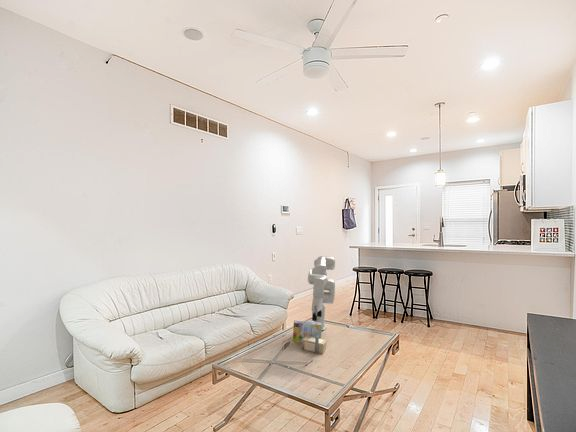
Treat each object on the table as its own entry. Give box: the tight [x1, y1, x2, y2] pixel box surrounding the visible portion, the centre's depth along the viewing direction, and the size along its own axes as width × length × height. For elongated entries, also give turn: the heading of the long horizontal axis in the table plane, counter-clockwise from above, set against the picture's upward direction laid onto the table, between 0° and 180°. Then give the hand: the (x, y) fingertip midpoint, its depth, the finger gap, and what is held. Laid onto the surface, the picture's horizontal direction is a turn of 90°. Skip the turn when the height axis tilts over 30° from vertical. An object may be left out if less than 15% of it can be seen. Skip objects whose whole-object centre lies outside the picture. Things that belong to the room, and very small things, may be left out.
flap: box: [301, 336, 319, 354], centre depth 227 cm, size 12×3×12 cm, turn 67°
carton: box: [301, 336, 328, 354], centre depth 231 cm, size 8×16×7 cm, turn 67°
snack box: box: [292, 320, 322, 343], centre depth 242 cm, size 21×6×15 cm, turn 84°
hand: (316, 318), depth 224 cm, fingers open, 9 cm apart
